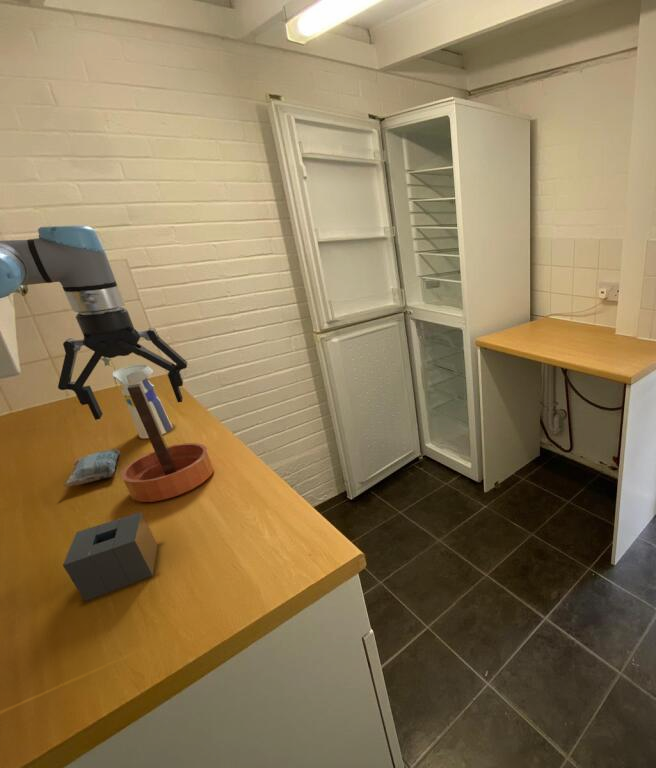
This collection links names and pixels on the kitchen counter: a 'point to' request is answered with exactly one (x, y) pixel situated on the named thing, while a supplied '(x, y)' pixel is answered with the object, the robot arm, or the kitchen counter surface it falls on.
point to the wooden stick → (152, 428)
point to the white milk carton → (140, 375)
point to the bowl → (153, 485)
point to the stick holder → (111, 556)
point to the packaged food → (94, 467)
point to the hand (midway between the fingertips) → (141, 408)
